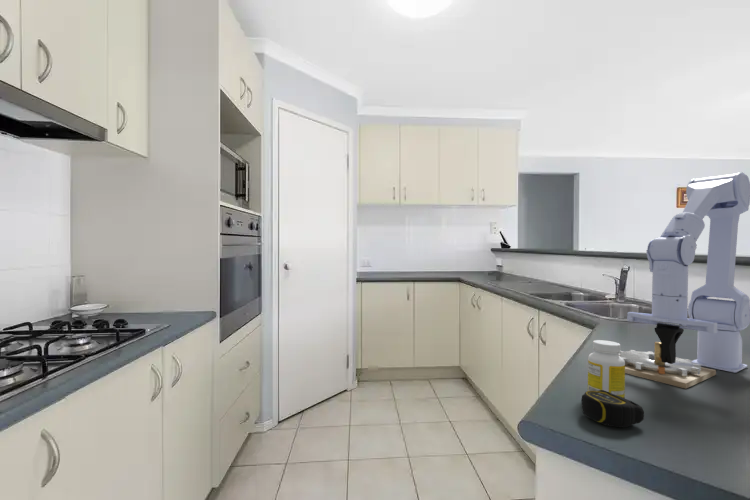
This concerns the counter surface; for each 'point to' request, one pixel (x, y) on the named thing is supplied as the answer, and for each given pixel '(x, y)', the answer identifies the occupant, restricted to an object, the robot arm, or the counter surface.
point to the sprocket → (659, 362)
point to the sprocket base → (672, 376)
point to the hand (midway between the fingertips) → (668, 362)
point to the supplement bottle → (606, 368)
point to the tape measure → (611, 409)
